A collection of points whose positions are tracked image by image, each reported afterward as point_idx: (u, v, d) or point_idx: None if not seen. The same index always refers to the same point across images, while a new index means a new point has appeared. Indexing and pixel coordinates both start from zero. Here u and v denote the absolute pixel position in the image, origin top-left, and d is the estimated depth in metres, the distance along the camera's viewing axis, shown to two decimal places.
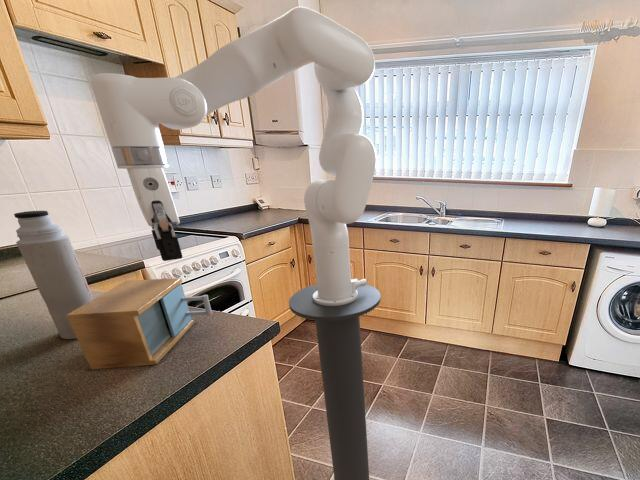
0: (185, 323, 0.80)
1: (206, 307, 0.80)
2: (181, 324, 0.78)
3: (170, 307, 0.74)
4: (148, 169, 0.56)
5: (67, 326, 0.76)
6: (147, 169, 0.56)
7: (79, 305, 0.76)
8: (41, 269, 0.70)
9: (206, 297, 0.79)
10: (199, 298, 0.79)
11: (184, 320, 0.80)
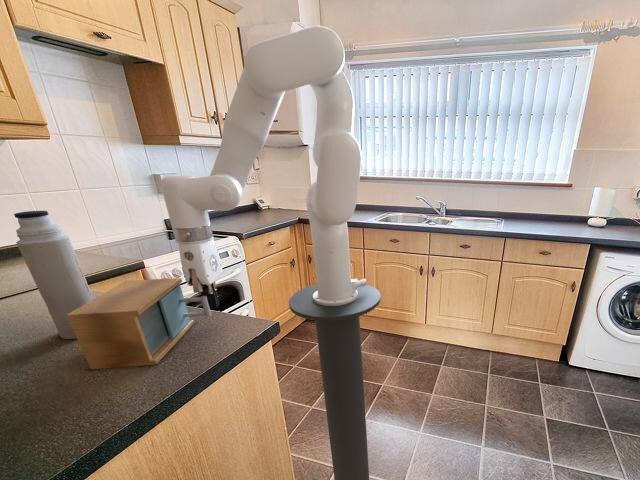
0: (184, 324, 0.79)
1: (205, 308, 0.79)
2: (180, 325, 0.77)
3: (169, 308, 0.73)
4: (187, 245, 0.73)
5: (67, 326, 0.76)
6: (187, 245, 0.73)
7: (79, 305, 0.76)
8: (41, 269, 0.70)
9: (205, 298, 0.79)
10: (198, 299, 0.78)
11: (183, 322, 0.79)
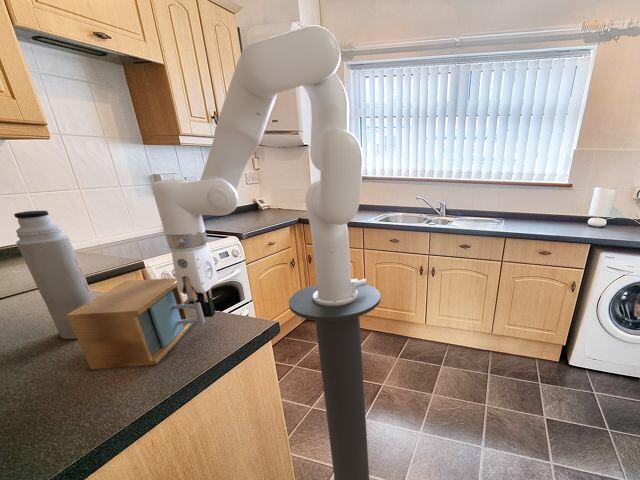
0: (176, 332, 0.76)
1: (199, 315, 0.76)
2: (172, 333, 0.74)
3: (160, 316, 0.70)
4: (181, 252, 0.70)
5: (67, 326, 0.76)
6: (180, 252, 0.70)
7: (79, 305, 0.76)
8: (41, 269, 0.70)
9: (198, 305, 0.75)
10: (191, 306, 0.75)
11: (176, 329, 0.76)
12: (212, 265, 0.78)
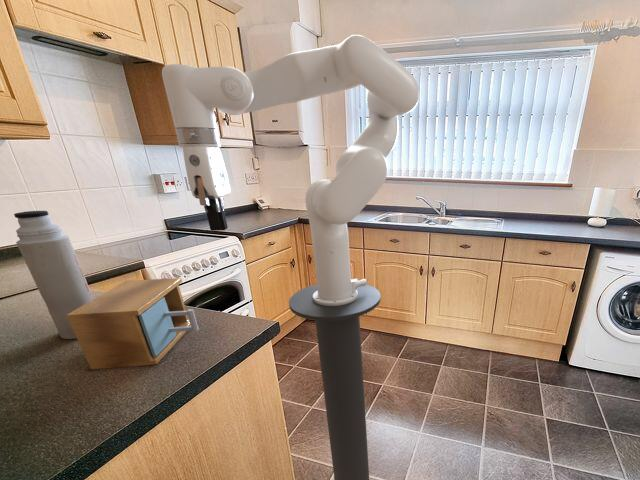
0: (169, 340, 0.72)
1: (192, 323, 0.73)
2: (164, 342, 0.71)
3: (150, 324, 0.67)
4: (193, 147, 0.65)
5: (67, 326, 0.76)
6: (192, 147, 0.65)
7: (79, 305, 0.76)
8: (41, 269, 0.70)
9: (192, 312, 0.72)
10: (184, 313, 0.72)
11: (168, 337, 0.72)
12: (225, 173, 0.73)
